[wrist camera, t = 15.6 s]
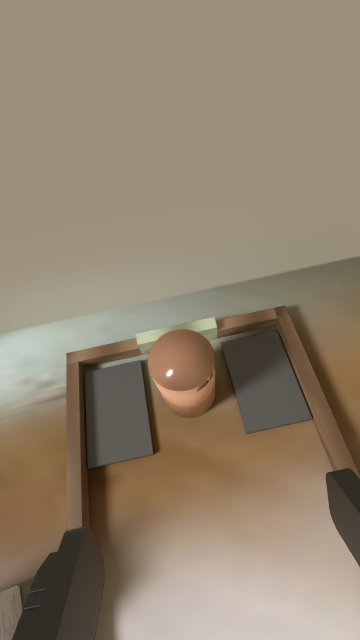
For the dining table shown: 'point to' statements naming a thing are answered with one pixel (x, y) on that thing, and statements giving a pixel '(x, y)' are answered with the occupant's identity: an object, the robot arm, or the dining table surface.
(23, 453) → the dining table surface
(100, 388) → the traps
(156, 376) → the terracotta jar
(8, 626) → the medicine box
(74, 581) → the robot arm
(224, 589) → the dining table surface
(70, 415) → the box
